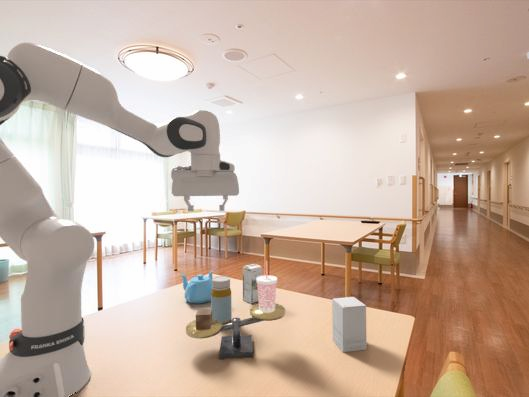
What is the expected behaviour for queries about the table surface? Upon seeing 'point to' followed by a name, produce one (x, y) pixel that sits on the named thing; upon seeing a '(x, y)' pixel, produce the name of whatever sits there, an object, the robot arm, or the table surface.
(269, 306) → the beverage cup
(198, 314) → the walnut block
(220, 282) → the bottle
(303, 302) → the table surface
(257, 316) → the balance
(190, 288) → the teapot
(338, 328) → the supplement box
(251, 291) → the syrup box
